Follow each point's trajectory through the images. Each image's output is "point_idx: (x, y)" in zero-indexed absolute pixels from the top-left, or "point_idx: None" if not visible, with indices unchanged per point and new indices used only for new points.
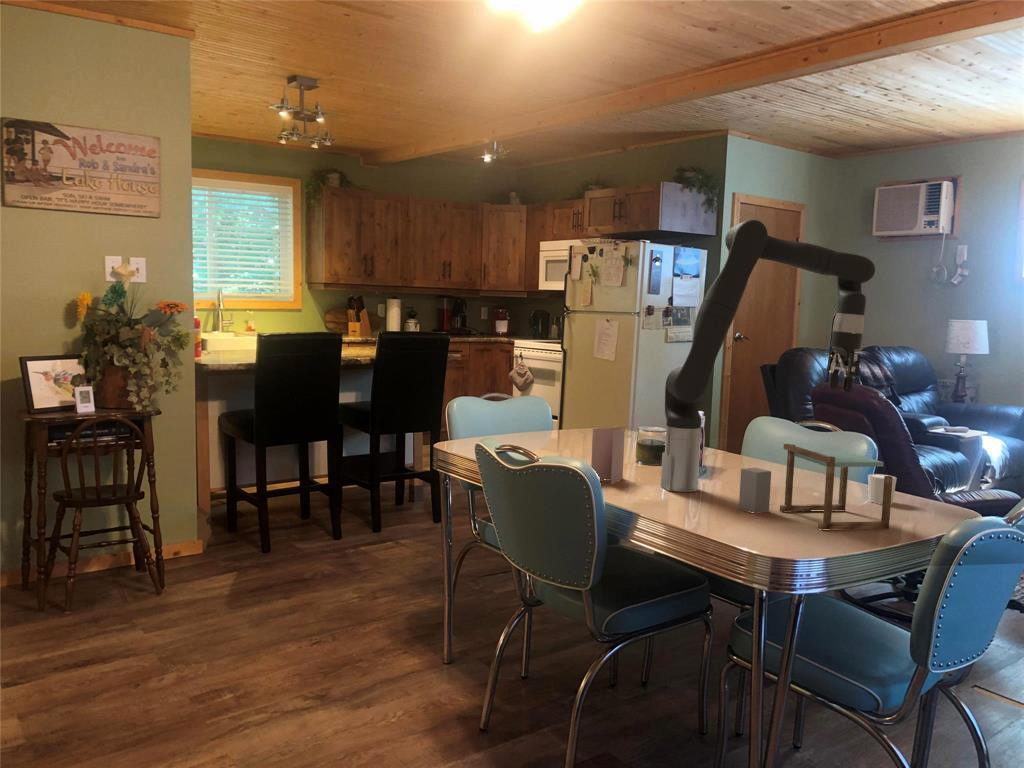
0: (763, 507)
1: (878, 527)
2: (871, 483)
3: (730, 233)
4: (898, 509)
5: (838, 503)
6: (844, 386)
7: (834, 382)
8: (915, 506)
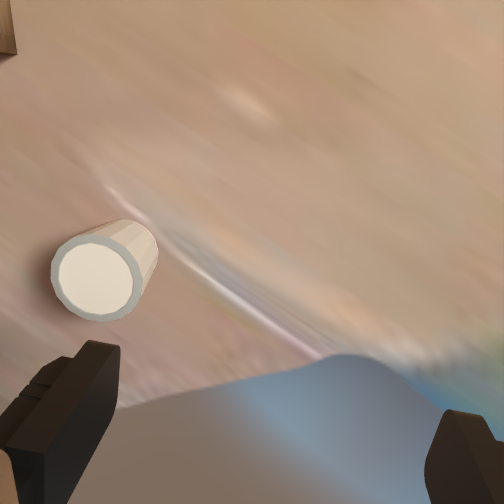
0: None
1: None
2: (96, 230)
3: None
4: (41, 246)
5: (1, 34)
6: (66, 373)
7: (454, 495)
8: (80, 319)
